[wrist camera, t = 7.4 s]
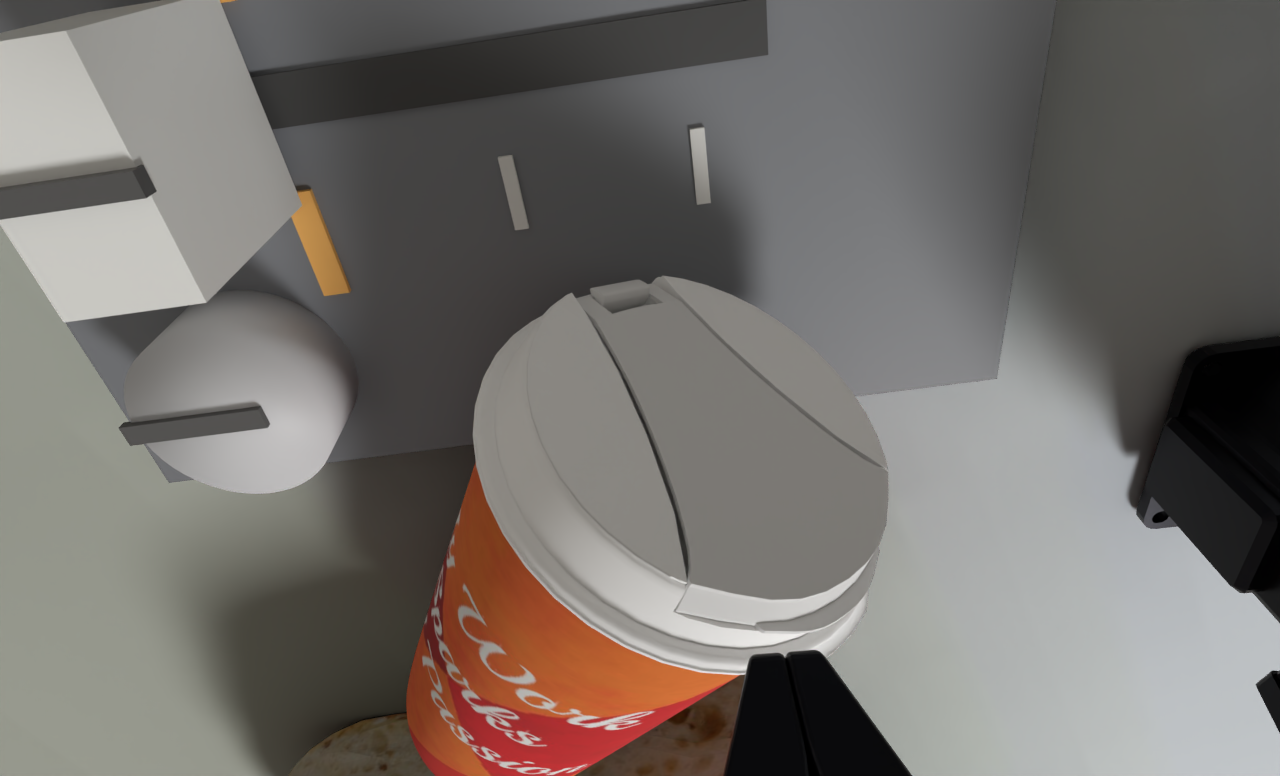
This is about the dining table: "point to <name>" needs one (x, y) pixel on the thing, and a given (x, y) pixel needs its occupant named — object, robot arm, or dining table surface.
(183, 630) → the dining table surface
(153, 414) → the console
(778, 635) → the coffee cup
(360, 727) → the bread
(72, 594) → the dining table surface
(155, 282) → the fader
